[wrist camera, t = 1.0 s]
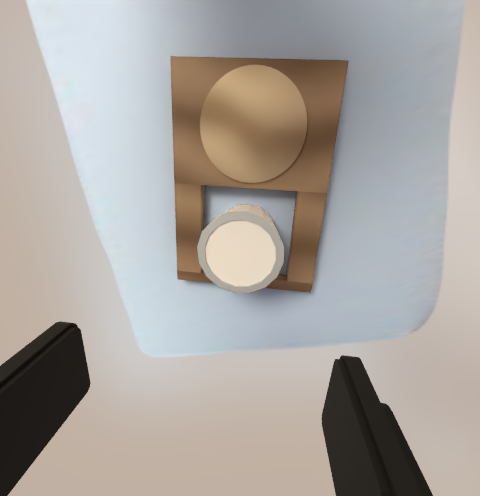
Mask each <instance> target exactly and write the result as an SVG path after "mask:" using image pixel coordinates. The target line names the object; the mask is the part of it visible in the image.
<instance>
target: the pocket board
mask: <svg viewBox="0 0 480 496" xmlns="http://www.w3.org/2000/svg"><path fill="white" fill-rule="evenodd" d="M347 67H348V61H344V60H301V59H258V58H216V57H173V56H171V86H172V117H173V149H174V180H175V212H176V243H177V275H178V279H180V280H190V281H200V282H210V283H213V282H212V281H211V280H210V279H209V278H208V277H207V276H206V275H205V273H204V271H203V269H202V267H201V266H200V264H199V259H198V250H197V246H198V243H199V239H200V236H201V233H202V231H203V230H204V187H205V185H209V186H224V187H239V188H255V189H270V190H285V191H297V193H296V201H295V209H294V217H293V225H292V233H291V242H290V250H289V258H288V266H287V274H286V275H282V274H278V276H277V277H276V278H275V279H274V280H273V281H272V282H271V283H270V284H269V285H267V286H266V287H265V288H272V289H283V290H293V291H303V292H311V288H312V282H313V276H314V270H315V264H316V257H317V251H318V245H319V239H320V233H321V227H322V221H323V215H324V208H325V202H326V196H327V190H328V184H329V178H330V172H331V165H332V159H333V153H334V147H335V141H336V135H337V129H338V122H339V116H340V110H341V104H342V98H343V92H344V86H345V80H346V73H347Z"/></svg>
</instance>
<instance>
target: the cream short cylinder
mask: <svg viewBox="0 0 480 496" xmlns="http://www.w3.org/2000/svg"><path fill="white" fill-rule="evenodd" d="M197 250H198V259H199V264H200V266H201V267H202V269H203V271H204V273H205V275H206V276H207V277H208V278H209V279H210V280H211V281H212V282H213V283H215V284H216V285H217V286H218V287H220V288H223V289H225V290H228V291H231V292H233V293H251V292H254V291H257V290H260V289H262V288H265V287H266V286H267V285H269V284H270V283H271V282H272V281H273V280H274V279H275V278H276V277H277V276H278V274H279V272H280V270H281V267H282V265H283V263H284V245H283V242H282V240H281V238H280V236H279V233H278V231H277V229H276V227H275V225H274V223H273V221H272V219H271V217H270V215H269V214H268V213H267V212H266V211H265V210H264V209H262V208H261V207H258V206H255V205H253V204H240V205H238V206H236V207H234V208H232V209H230V210H228V211H226V212H225V213H223V214H221V215H219V216H218V217H216V218H214V219H213V220H212V221H211V222H210V223H209V224H208V225H207V226H206V228H205V229H204V230H203V231H202V233H201V236H200V239H199V243H198V246H197Z"/></svg>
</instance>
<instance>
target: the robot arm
mask: <svg viewBox="0 0 480 496" xmlns="http://www.w3.org/2000/svg"><path fill="white" fill-rule="evenodd" d="M89 387H90V378H89V373H88V367H87V362H86V356H85V351H84V345H83V340H82V334H81V330H80V329H79V328H78V327H77V325H76V324H74V323H66V322H57V323H55V324H54V325H52V326H51V327H50V328H49V329H47V330H46V331H45V332H44V333H42V334H41V335H40V336H38V337H37V338H36V339H35V340H33V341H32V342H31V343H29V344H28V345H27V346H25V347H24V348H23V349H22V350H20V351H19V352H18V353H17V354H15V355H14V356H13V357H11V358H10V359H9V360H7V361H6V362H5V363H4V364H2V365H1V366H0V496H7V495H8V494H9V493H10V491H11V490H12V489H13V488H14V486H15V485H16V484H17V482H18V481H19V480H20V479H21V477H22V476H23V475H24V473H25V472H26V471H27V469H28V468H29V467H30V466H31V464H32V463H33V462H34V460H35V459H36V458H37V456H38V455H39V454H40V453H41V451H42V450H43V449H44V447H45V446H46V445H47V444H48V442H49V441H50V440H51V438H52V437H53V436H54V435H55V433H56V432H57V431H58V429H59V428H60V427H61V426H62V424H63V423H64V422H65V420H66V419H67V418H68V416H69V415H70V414H71V413H72V411H73V410H74V409H75V407H76V406H77V405H78V404H79V402H80V401H81V400H82V398H83V397H84V396H85V394H86V393H87V392H88V390H89ZM322 427H323V432H324V437H325V442H326V447H327V452H328V457H329V462H330V467H331V472H332V477H333V482H334V487H335V492H336V496H433V495H432V493H431V491H430V489H429V487H428V484H427V482H426V480H425V478H424V476H423V474H422V472H421V470H420V468H419V466H418V464H417V462H416V460H415V458H414V456H413V454H412V451H411V450H410V447H409V446H408V443H407V441H406V439H405V437H404V435H403V433H402V431H401V429H400V427H399V425H398V423H397V420H396V419H395V416H394V414H393V412H392V411H391V409H390V407H389V406H388V405H387V404H384V403H380V401H379V399H378V396H377V394H376V392H375V390H374V388H373V386H372V383H371V382H370V379H369V376H368V374H367V372H366V370H365V368H364V365H363V363H362V361H361V359H360V358H359V357H350V356H341V357H340V359H339V360H338V359H335V361H334V365H333V369H332V374H331V378H330V382H329V387H328V391H327V396H326V400H325V404H324V409H323V413H322Z"/></svg>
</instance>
